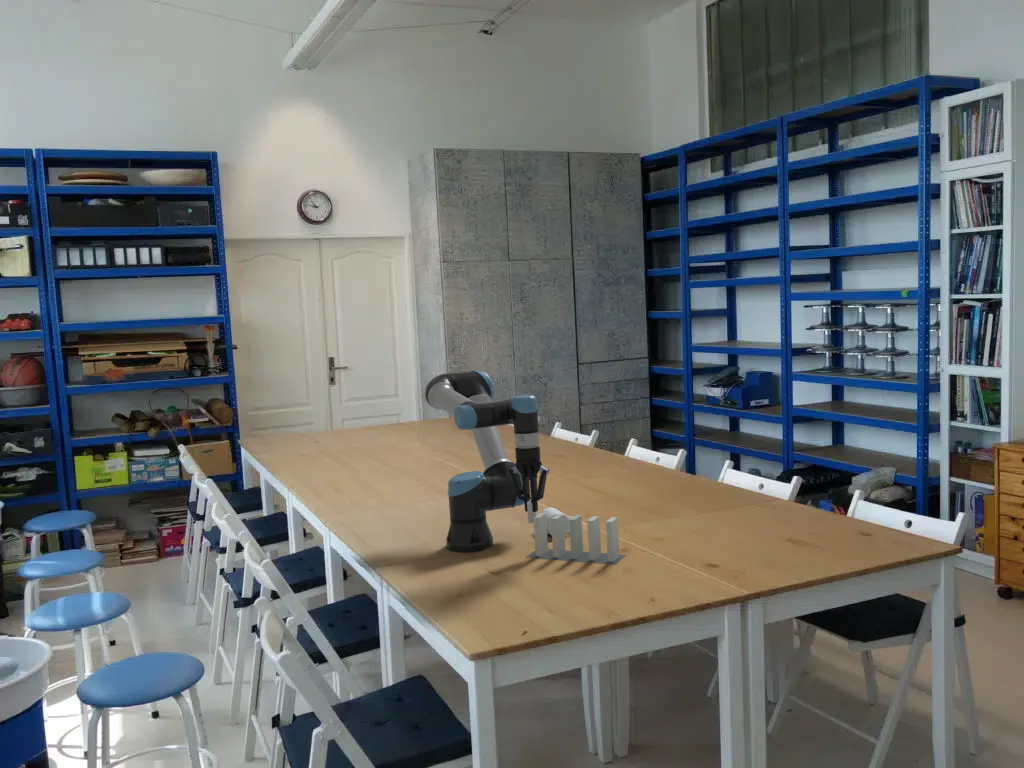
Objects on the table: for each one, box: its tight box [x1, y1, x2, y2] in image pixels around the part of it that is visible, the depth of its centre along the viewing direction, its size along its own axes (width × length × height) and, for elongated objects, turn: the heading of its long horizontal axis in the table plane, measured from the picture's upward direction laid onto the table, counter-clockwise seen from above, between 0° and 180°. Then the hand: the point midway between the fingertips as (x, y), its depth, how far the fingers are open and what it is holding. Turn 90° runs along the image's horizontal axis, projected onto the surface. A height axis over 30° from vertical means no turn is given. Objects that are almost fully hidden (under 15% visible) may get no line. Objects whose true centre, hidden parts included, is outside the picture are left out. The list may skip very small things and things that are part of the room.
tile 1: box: [533, 512, 549, 556], centre depth 280 cm, size 2×5×12 cm, turn 155°
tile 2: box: [551, 513, 566, 558], centre depth 277 cm, size 2×5×12 cm, turn 154°
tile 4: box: [586, 515, 602, 561], centre depth 272 cm, size 2×5×12 cm, turn 155°
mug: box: [540, 507, 573, 537], centre depth 303 cm, size 12×10×8 cm
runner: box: [524, 548, 627, 566], centre depth 275 cm, size 29×10×1 cm, turn 65°
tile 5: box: [605, 516, 620, 562], centre depth 270 cm, size 2×5×12 cm, turn 154°
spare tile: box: [569, 514, 584, 559], centre depth 275 cm, size 2×5×12 cm, turn 155°
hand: (532, 522), depth 280 cm, fingers closed
